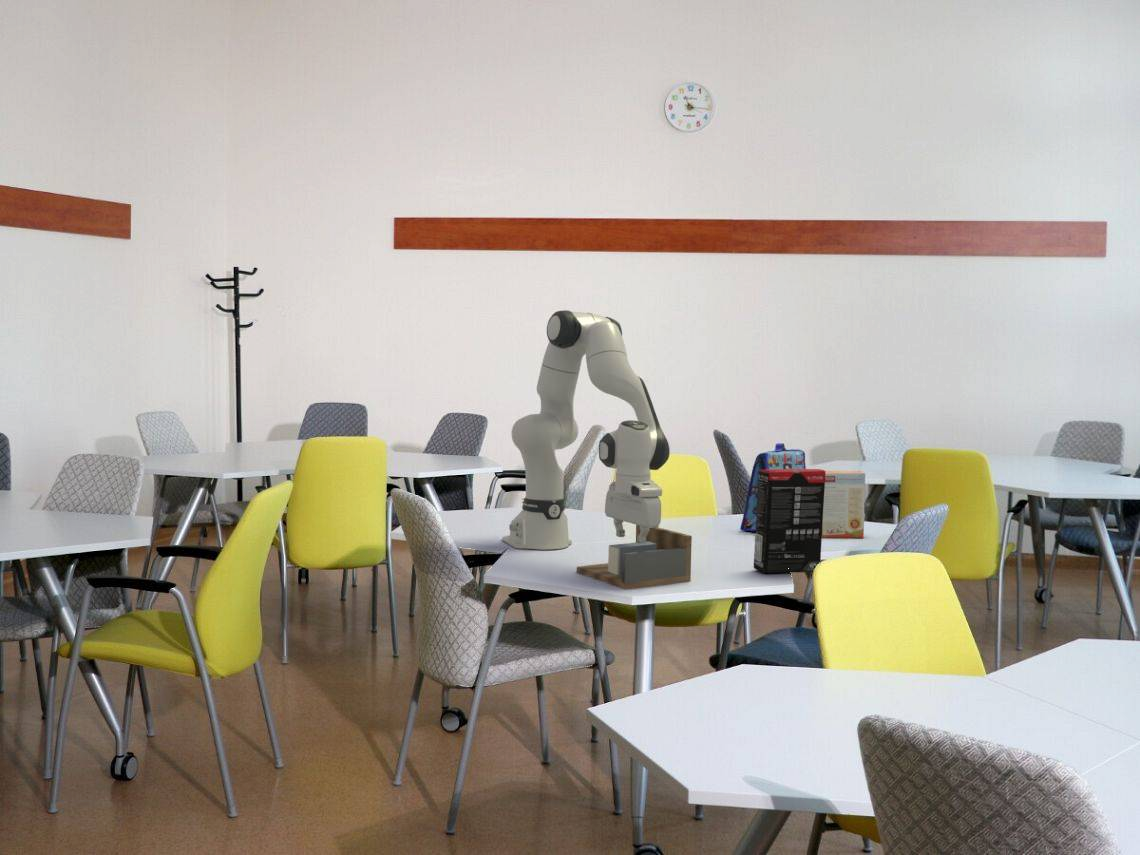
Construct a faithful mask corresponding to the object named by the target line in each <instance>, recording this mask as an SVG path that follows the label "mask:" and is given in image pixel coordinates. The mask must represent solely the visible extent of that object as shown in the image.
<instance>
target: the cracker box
mask: <svg viewBox="0 0 1140 855" xmlns="http://www.w3.org/2000/svg"><path fill="white" fill-rule="evenodd" d="M824 471H825V473H826V475H825V491H824V507H823V524H822V539H828V538H829V539H831V538H832V539H833V538H834V539H837V538H838V539H842V538H843V539H844V538H845V539H864V537H865V536H864V530H865V529H864V528H865V503H866V502H865V498H866V494H865V493H866V473H865V472H862V471H861V470H860V471H859V470H858V471H857V470H856V471H855V470H853V471H851V470H850V471H849V470H824Z"/></svg>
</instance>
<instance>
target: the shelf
mask: <svg viewBox="0 0 1140 855" xmlns="http://www.w3.org/2000/svg"><path fill="white" fill-rule="evenodd" d="M640 532H641V530H640V526H639V525H636V524H635V543H637V536H639V535H640ZM692 539H693V536H692V535H690V534H686V533H682V532H679V531H674V530H669V529H665V528H661V527H660V526H658V527H654V528H650V530H649V532H648V535H647V536H646V542H647V541H648V542H652V543H655V544H657V550H660V549H670V548H680V547H684V548H687V555H686V576H681V577H672V578H664V579H656V580H647V581H639V582H631V583H623V582H621V578H622V575H618V576H617V575H614V574H611V573H608V562H607V563H599V564H590V565H589V564H587V565H581V566H579V565H577V566H576V573H577V574H580V575H583V576H586V577H589V578H591V579H595V580H598V581H600V582H603V583H605V584H606V583H607V584H609V585H611V586H615V587H617V588H619V589H623V590H631V589H637V588H638V589H639V588H645V587H647V588H648V587H654V586H662V585H663V586H664V585H670V584H671V585H672V584H679V583H688V582H692V581H691V578H692V577H691V576H692V575H691V574H692V573H691V572H692V542H693V541H692Z"/></svg>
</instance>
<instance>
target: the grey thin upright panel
mask: <svg viewBox="0 0 1140 855" xmlns="http://www.w3.org/2000/svg"><path fill="white" fill-rule="evenodd" d="M686 555H687V548H684V547H680V548H670V549H660V550H650V551H641V552H631V553H622V578H621V582H623V583H631V582H639V581H647V580H656V579H664V578H672V577H681V576H686Z"/></svg>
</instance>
